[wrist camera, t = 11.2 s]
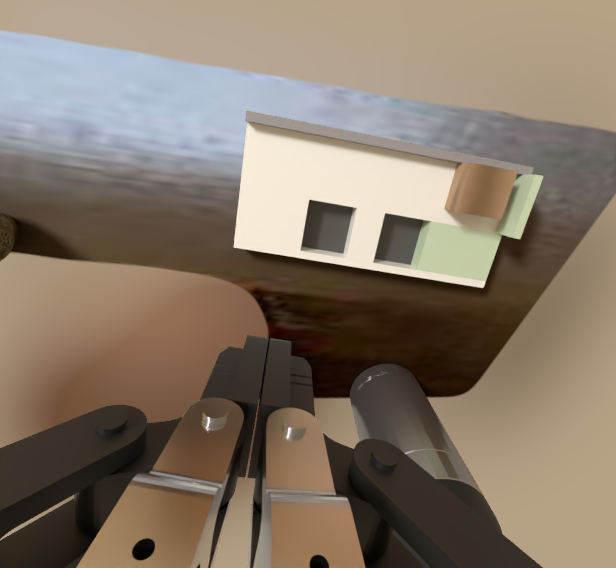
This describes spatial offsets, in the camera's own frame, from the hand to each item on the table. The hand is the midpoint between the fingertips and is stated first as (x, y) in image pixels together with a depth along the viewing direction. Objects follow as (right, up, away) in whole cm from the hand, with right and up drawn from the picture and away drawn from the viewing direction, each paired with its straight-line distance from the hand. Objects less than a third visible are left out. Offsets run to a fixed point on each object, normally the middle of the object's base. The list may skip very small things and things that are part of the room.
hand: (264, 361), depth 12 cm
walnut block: (+18, +12, +23) cm, 32 cm away
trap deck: (+9, +12, +25) cm, 29 cm away
